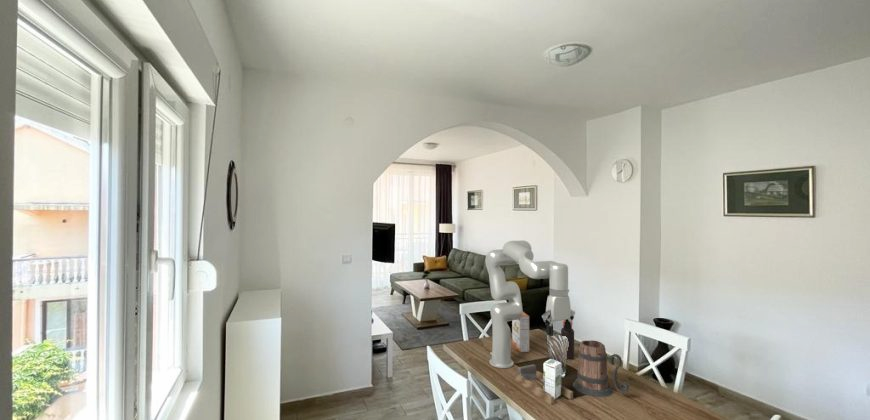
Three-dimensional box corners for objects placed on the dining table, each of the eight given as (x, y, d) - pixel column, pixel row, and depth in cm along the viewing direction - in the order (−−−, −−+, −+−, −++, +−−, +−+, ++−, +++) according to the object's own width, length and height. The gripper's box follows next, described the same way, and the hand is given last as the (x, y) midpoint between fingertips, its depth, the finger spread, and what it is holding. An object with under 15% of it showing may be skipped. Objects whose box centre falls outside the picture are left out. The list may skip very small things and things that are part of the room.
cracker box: (511, 344, 220) (511, 309, 220) (521, 343, 220) (521, 309, 221) (519, 352, 206) (519, 316, 206) (529, 352, 206) (529, 315, 207)
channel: (515, 380, 172) (515, 367, 172) (535, 375, 176) (535, 363, 177) (551, 404, 150) (551, 390, 150) (573, 398, 155) (573, 384, 155)
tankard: (566, 387, 164) (566, 343, 165) (581, 376, 177) (581, 334, 177) (622, 407, 148) (622, 358, 148) (634, 392, 160) (634, 347, 161)
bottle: (563, 354, 204) (563, 318, 204) (575, 357, 200) (575, 320, 200) (559, 357, 199) (559, 321, 199) (571, 361, 194) (571, 323, 195)
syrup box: (549, 390, 162) (549, 358, 162) (561, 395, 157) (561, 362, 158) (542, 395, 158) (542, 361, 158) (555, 400, 153) (555, 366, 154)
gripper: (567, 289, 161) (567, 328, 160) (536, 292, 154) (536, 333, 153) (580, 292, 154) (581, 333, 154) (548, 296, 147) (548, 338, 147)
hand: (558, 333), depth 153 cm, fingers open, 9 cm apart
